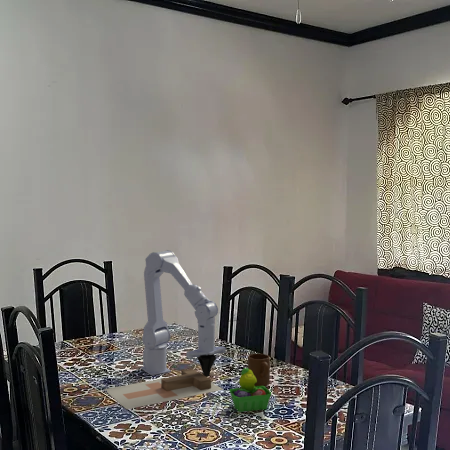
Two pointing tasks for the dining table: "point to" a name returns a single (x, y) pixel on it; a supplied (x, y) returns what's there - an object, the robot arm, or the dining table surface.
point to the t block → (186, 381)
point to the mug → (260, 368)
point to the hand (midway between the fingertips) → (206, 375)
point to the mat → (152, 393)
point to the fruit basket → (249, 393)
